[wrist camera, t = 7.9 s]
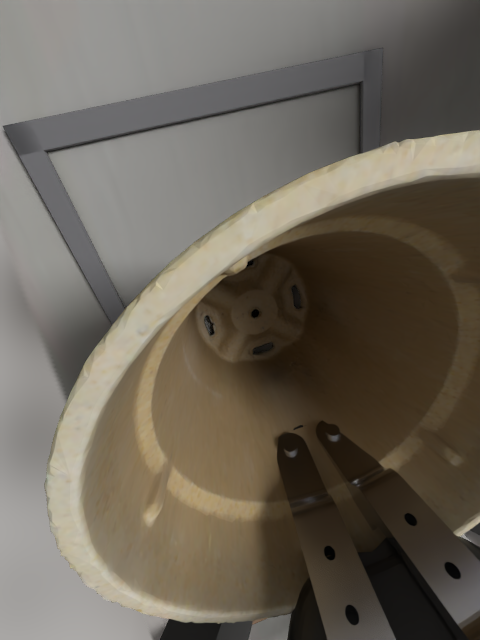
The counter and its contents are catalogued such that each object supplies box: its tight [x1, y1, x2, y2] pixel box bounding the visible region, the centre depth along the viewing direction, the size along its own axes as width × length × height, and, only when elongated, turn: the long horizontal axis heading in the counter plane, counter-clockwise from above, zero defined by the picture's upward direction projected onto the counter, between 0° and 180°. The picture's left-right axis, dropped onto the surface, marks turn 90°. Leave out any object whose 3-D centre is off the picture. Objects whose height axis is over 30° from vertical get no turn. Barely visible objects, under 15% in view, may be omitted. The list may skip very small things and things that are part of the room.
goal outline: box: [3, 48, 383, 325], centre depth 10 cm, size 14×13×1 cm
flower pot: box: [44, 130, 480, 624], centre depth 8 cm, size 9×9×9 cm
